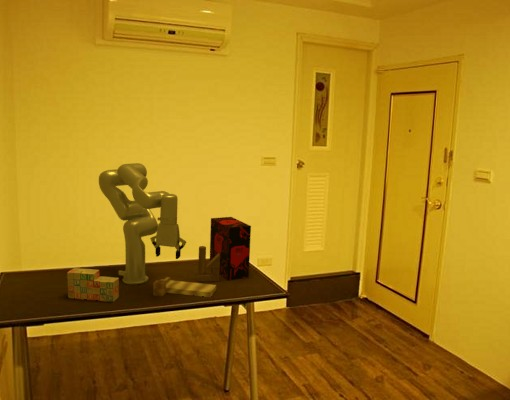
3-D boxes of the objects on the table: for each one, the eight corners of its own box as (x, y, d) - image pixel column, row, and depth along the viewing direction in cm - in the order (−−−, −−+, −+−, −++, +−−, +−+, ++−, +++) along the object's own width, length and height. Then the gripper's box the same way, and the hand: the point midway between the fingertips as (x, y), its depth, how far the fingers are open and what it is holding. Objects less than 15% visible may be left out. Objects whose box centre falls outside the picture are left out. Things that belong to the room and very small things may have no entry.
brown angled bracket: (219, 281, 227) (220, 247, 224) (198, 282, 225) (198, 247, 222) (218, 279, 231) (219, 245, 228) (197, 279, 228) (198, 245, 225)
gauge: (153, 295, 206) (153, 283, 205) (164, 284, 220) (164, 273, 219) (162, 296, 205) (162, 284, 204) (172, 285, 219) (173, 274, 218)
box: (209, 267, 249) (210, 218, 244) (229, 264, 255) (231, 216, 250) (227, 280, 229) (229, 227, 224) (248, 277, 235) (250, 225, 230)
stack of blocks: (119, 297, 202) (119, 271, 200) (113, 302, 196) (112, 276, 194) (74, 293, 205) (74, 267, 203) (67, 298, 199) (66, 271, 196)
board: (153, 291, 211) (153, 286, 210) (161, 283, 220) (161, 279, 220) (210, 297, 206) (211, 292, 206) (216, 289, 216) (216, 285, 216)
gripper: (147, 220, 201) (146, 257, 204) (183, 224, 197) (182, 261, 200) (154, 217, 208) (154, 252, 211) (189, 221, 204) (188, 257, 208)
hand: (167, 257), depth 206 cm, fingers open, 9 cm apart
